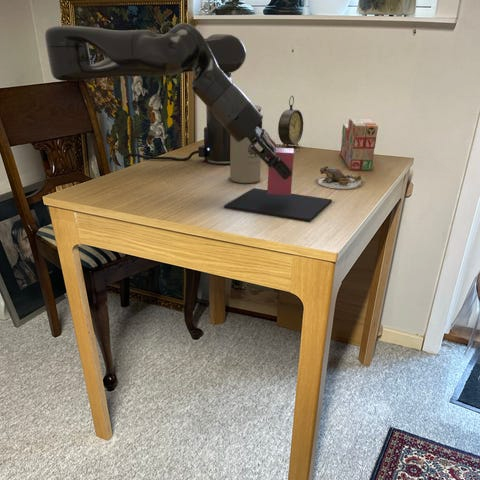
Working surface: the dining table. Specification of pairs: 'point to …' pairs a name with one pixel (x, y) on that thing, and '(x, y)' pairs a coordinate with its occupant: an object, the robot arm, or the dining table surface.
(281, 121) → the alarm clock
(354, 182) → the frog figurine
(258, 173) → the travel mug
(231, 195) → the dining table surface
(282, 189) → the block
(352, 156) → the stack of blocks
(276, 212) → the mat
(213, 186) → the dining table surface
